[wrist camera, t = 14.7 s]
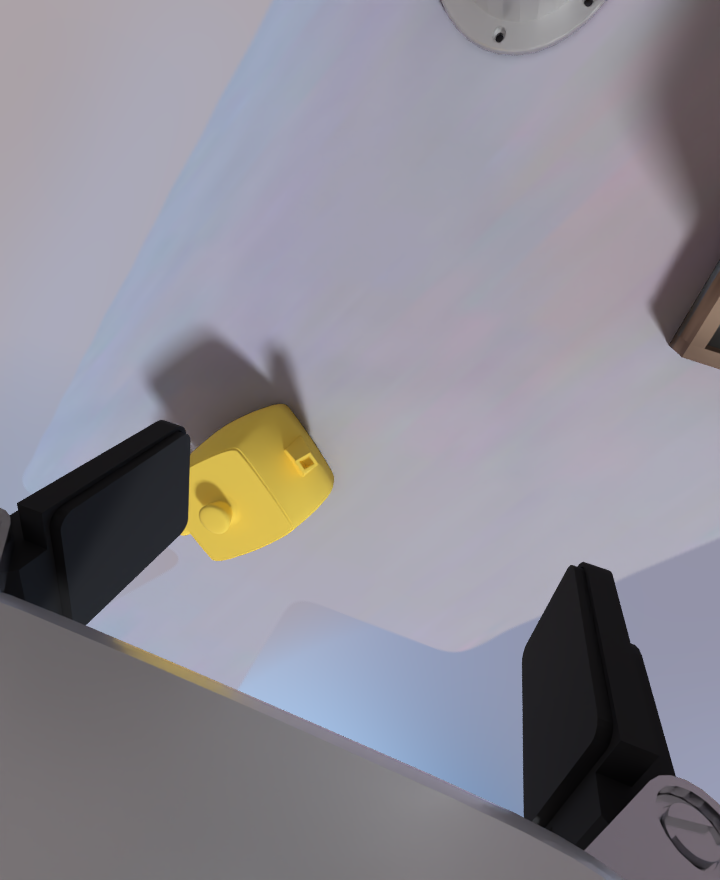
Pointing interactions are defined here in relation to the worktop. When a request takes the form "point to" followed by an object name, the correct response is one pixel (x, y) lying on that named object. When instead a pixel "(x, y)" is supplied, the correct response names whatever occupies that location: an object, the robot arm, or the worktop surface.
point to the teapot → (254, 483)
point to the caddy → (702, 326)
